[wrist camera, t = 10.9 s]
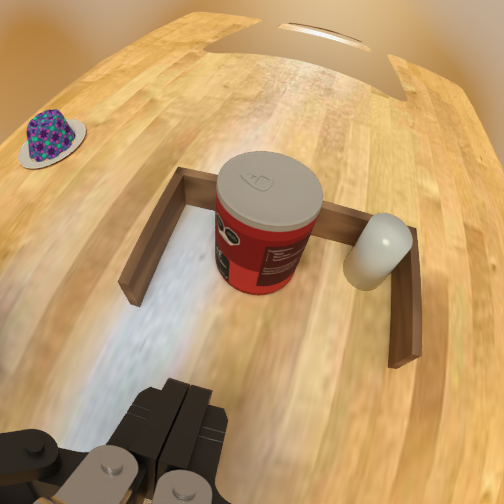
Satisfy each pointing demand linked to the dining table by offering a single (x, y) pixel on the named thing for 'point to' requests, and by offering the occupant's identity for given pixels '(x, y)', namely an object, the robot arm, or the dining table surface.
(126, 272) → the u-shaped frame
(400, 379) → the dining table surface
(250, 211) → the canned food
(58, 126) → the patterned hat
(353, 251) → the grey rounded capsule
